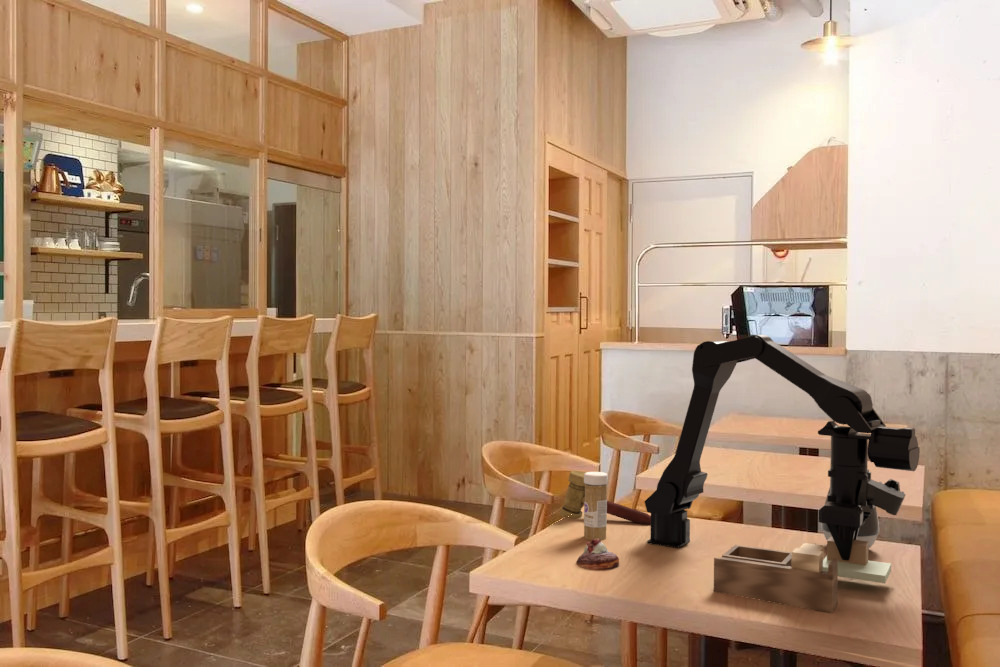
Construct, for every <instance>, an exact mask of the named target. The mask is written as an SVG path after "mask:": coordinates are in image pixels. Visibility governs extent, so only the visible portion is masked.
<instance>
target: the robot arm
mask: <svg viewBox="0 0 1000 667" xmlns="http://www.w3.org/2000/svg"><path fill="white" fill-rule="evenodd" d="M754 359H756V360H757V361H759V362H760V363H761V364H763V365H764V366H766V367H767V368H769V369H770V370H772V371H774V373H777V375H779V376H781V377H783V379H786V380H787V381H788V382H790V383H792V385H794V386H796V388H797V387H798V388H799V389H800V390H802V391H803V392H804V393H806V394H807V395H808V396H810V397H811V398H812V399H813V401H814V402H815V404H817V406H818V408H819V409H821V410H822V411H823V412H824V413H825V414H826V415H827V416H828V417H829V418H830V419H831V420H829V421H827V422H826V424H825V425H823V427H822V428H821V429H819V430H818V431H817V434H818V435H819V436H829V437H830V462H829V463H830V467H829V469H828V470H827V477H828V478H829V488H830V494H829V495H828V503H826V504H825V503H824V504H825V505H824V504H823V505H822V507H821V508H819V510H818V523H820V524H821V523H826V524H827V527H828V529H829V531H830V533H831V535H832V537H833V540H834V542H835V544H836V547H837V549H838V551H839V554H840V556H841V558H842V560H847V561H848V560H849V559H850V555H851V550H852V545H853V540H856V539H857V535H858V531H859V528H860V527H861V526H862V525H863V524H864V523H865V521H864V520H866V519H867V518H868V517H869V516H870V515H871V513H870V512H863V510H862V507H861V506H867V505H868V506H869V508H870V509H874V507H875V506H876V508H879V509H881V510H882V511H885V512H886V513H887V514H889V515H891V516H897V515H898V513H899V511H900V509H901V506H902V504H903V502H904V500H905V497H906V493H905V491H902V490H901V488H900V481H898V480H894V479H892V478H890V479H888V480H887V481H886V482H884V483H883V482H882V481H878V480H877V481H876V480H874V479H872V471H870V469H868V460H869V461H870V463H873V464H874V466H875V468H881V469H882V468H883V469H890V470H891V469H892V470H897V471H898V470H899V471H906V472H915V471H916V470H917V468H918V465H919V462H920V451H921V449H920V446H919V442H918V437H917V436H916V428H914V427H890V426H887V425H886V423H885V422H884V421H883V420H882V418H881V417H880V416H879V415H878V413H877V412H876V410H875V409H874V407H873V405H874V404H873V401H872V397H871V395H870V393H868V392H867V391H866V390H865V389H862V388H861V387H858V386H856V385H854V384H850V383H849V382H846V381H843V380H840V379H837V378H834V377H832V376H829V375H826V374H825V373H824V372H822V371H820V370H819V369H818V368H816V367H814V366H813V365H811V364H809V363H808V362H806V361H805V360H803V359H802V358H800V357H799V356H798V355H796V354H794V353H792V352H791V351H789V349H786V348H785V347H783V346H782V345H780V344H779V343H777V342H775V341H774V340H773V339H772V338H771V337H770V336H769V335H766V334H753V335H749V336H748V337H745V338H741V339H740V338H739V339H734V340H730V341H727V340H707V341H702V342H701V343H699V344H697V346H696V347H695V349H694V351H693V357H692V367H691V374H692V379H693V389H692V393H691V396H690V400H689V402H688V407H687V411H686V413H685V414H686V415H685V417H684V422H683V425H682V428H681V433H680V436H679V439H678V442H677V446H676V450H675V453H674V456H673V458H672V460H670V462H669V463H668V465H666V466H665V469H664V470H663V472H662V474H661V476H660V478H659V480H658V482H657V485H656V490H655V491H654V492H652V493H651V494H650V495H649V497H647V499H645V500H644V505H645V510H646V512H647V513H648V514H650V516H651V525H650V539H648V540H647V541H646V542H647V543H646V544H647V545H656V546H662V547H669V548H675V549H676V548H677V549H681V548H682V547H683V546H685V545H686V544H688V543H689V542H690V541H691V539H690V538H691V536H690V534H691V532H690V530H691V520H690V518H688V510H690V509H691V507H692V504H693V502H694V501H695V500H696V499H698V497H699V496H700V495H701V494H703V493H704V485H705V482H706V480H707V477H708V473H707V472H704V471H702V469H701V457H702V454H703V450H704V447H705V444H706V439H707V438H708V437H707V436H708V433H709V430H710V426H711V424H712V419H713V415H714V413H715V408H716V405H717V402H718V398H719V395H720V392H721V390H722V389H723V388H724V386H725V385H726V383H727V382H728V380H730V378H731V376H732V374H733V372H734V370H735V368H736V366H737V364H738V363H742V362H747V361H750V360H754ZM844 425H845V426H844ZM846 425H847V426H846Z"/></svg>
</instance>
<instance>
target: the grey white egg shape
mask: <svg viewBox="0 0 1000 667" xmlns="http://www.w3.org/2000/svg"><path fill="white" fill-rule="evenodd" d="M829 494H830V487H829V488H828V491H827V494H826V498H825V499H824V500H825V501H824V504H823V506H824V505H825V504H826V503H828V495H829ZM861 507H862V510H863V512H870V513H871V515H870V516H869V517H868V518H867V519H866V520H864V521H865V523H864V524H863V525H862V526H861V527H860V528H859V531H858V535H857V539H856V540H860V541H868V542H869V547H868V550H869V549H870V548H871V547H872V546H873V545H874V544H875V542H876V540H877V537H878V534H880V523H879V516H878V511H877V510H878V509H877V507H876V506H875V507H874V509H870V508H869V506H868V505H867V506H861ZM820 524H821V525H820V527H821V530H822V531H823V535H824V538H825V540H826V541H827V540H828V539H829V538H830V537H832V535H831V533H830V531H829V529H828V527H827V524H826V523H820Z"/></svg>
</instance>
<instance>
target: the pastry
mask: <svg viewBox="0 0 1000 667" xmlns="http://www.w3.org/2000/svg"><path fill="white" fill-rule="evenodd" d="M576 564H577V565H578V566H579V567H581V568H584V569H586V570H587V569H588V570H596V571H601V570H602V571H606V570H613V569H615V568H618V567H619V566H620V558H619V556H618V555H617V554H616V553H614V552H612V551H609V550H608V548H607V546H606V545H605V544H604V543H603V542H602V540H600V539H599V538H598V539H593V540H590V541H586V546H585V547H584V551H583V552H582V553H581V554H580V555H579V556H578V558H577V559H576Z"/></svg>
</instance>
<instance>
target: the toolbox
mask: <svg viewBox="0 0 1000 667" xmlns="http://www.w3.org/2000/svg"><path fill="white" fill-rule="evenodd" d="M791 559H792V551H785V550H779V549H771V548H762V547H755V546H750V545H749V546H748V545H740V544H734V545H733V546H732V547H731V548H729V549H728V550H727V551H726V552H725V553H723V554H722V555H721V557H714V558H713V592H714V593H719V592H720V594H724V593H726V594H725V595H730V594H731V595H730V596H735V595H737V596H736V597H740V596H743V597H742V598H746V597H748V598H747V599H751V598H755V599H754V600H757V599H760V600H759V601H762V600H764V601H763V602H767V601H770V602H769V603H773V602H775V603H774V604H778V603H781V604H780V605H784V604H786V605H785V606H789V605H792V606H791V607H794V606H797V607H796V608H800V607H802V608H801V609H805V608H807V610H813V611H818V612H826V613H830V614H832V613H834V611H835V609H836V608H837V605H838V559H836V558H833V560H832V561H831V562H830V563H829V565H828V572H826V571H821V573H820V572H813V571H806V570H799V569H792V568H791Z"/></svg>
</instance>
